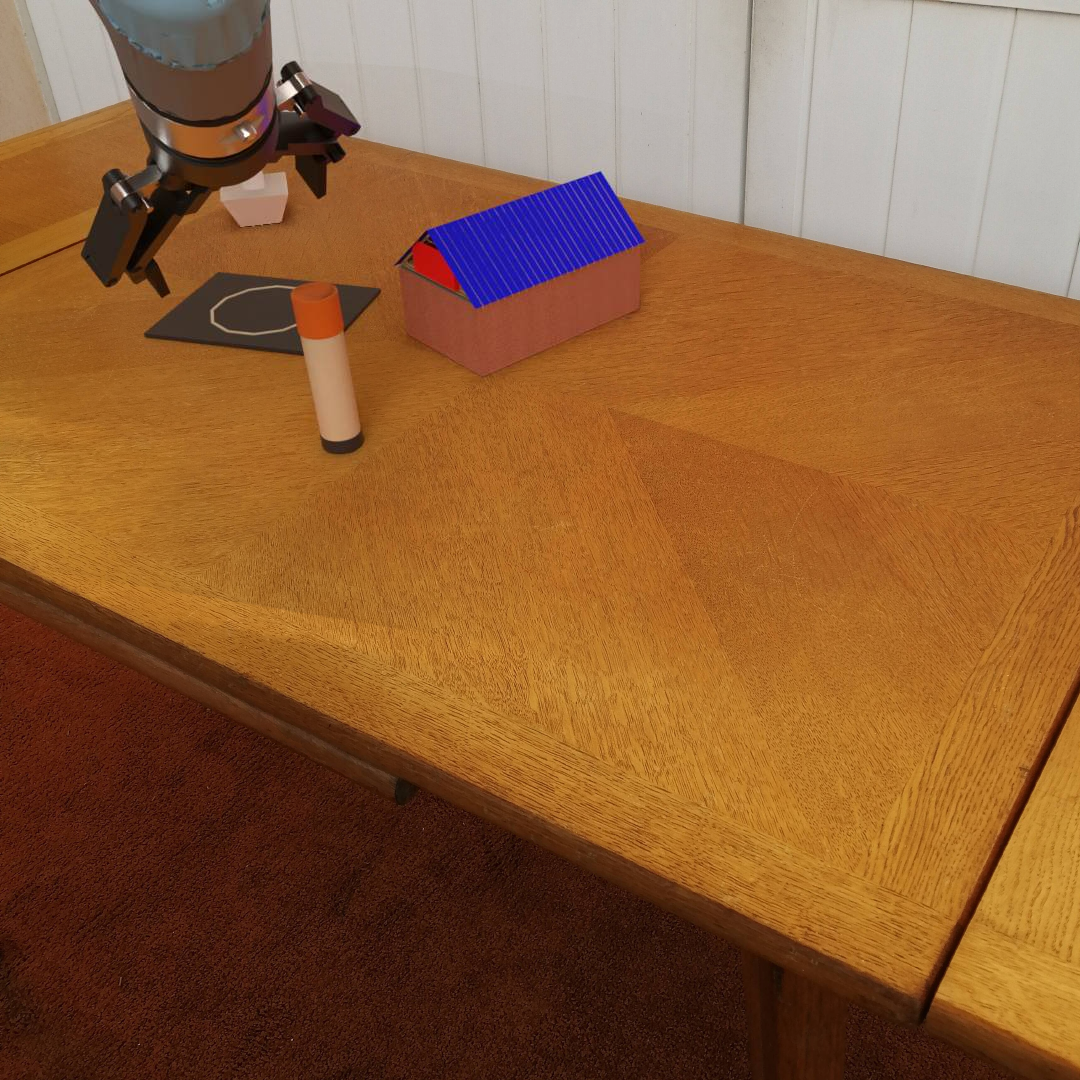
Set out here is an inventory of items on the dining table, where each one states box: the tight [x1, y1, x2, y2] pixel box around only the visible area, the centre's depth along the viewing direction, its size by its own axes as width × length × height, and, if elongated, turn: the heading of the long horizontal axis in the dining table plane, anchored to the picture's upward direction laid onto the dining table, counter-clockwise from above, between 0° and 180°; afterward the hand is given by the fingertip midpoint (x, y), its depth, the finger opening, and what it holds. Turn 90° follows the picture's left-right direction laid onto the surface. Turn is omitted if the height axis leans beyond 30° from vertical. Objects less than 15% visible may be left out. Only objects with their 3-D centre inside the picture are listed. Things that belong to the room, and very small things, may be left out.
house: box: [393, 170, 646, 378], centre depth 102 cm, size 12×20×12 cm, turn 133°
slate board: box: [143, 271, 382, 356], centre depth 108 cm, size 18×14×1 cm
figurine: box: [219, 169, 289, 228], centre depth 122 cm, size 7×9×15 cm
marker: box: [291, 281, 364, 455], centre depth 86 cm, size 3×3×13 cm
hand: (234, 230), depth 81 cm, fingers open, 13 cm apart
